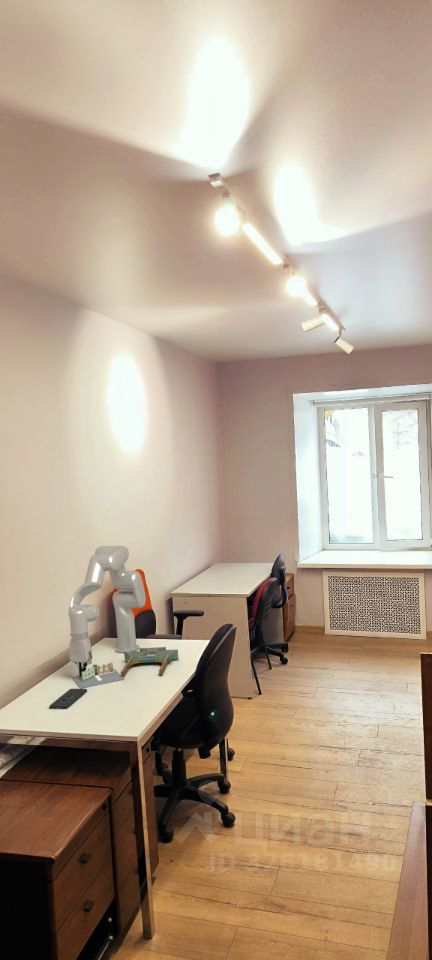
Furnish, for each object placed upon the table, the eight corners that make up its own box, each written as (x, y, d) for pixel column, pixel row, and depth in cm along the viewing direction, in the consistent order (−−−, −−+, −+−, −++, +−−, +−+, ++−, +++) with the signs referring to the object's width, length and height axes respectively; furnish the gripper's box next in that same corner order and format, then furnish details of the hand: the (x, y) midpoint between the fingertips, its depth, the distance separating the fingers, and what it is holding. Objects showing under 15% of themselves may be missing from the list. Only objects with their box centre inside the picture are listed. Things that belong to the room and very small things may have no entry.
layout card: (72, 678, 291) (72, 677, 291) (114, 669, 299) (114, 668, 299) (80, 688, 275) (80, 687, 275) (124, 679, 283) (124, 678, 283)
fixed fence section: (94, 675, 290) (93, 666, 290) (93, 674, 292) (92, 665, 292) (113, 671, 294) (113, 662, 294) (112, 670, 295) (112, 661, 295)
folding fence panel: (93, 675, 290) (92, 666, 290) (94, 675, 290) (94, 667, 290) (82, 680, 284) (81, 672, 284) (83, 680, 283) (83, 672, 283)
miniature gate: (111, 668, 286) (127, 646, 316) (113, 680, 286) (128, 657, 316) (170, 666, 283) (180, 644, 313) (171, 678, 284) (181, 655, 314)
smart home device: (48, 705, 254) (70, 688, 273) (48, 710, 254) (70, 692, 273) (67, 706, 252) (87, 688, 271) (67, 710, 252) (88, 692, 272)
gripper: (61, 637, 287) (64, 677, 288) (87, 639, 280) (90, 680, 281) (72, 633, 294) (75, 671, 294) (97, 635, 287) (101, 674, 287)
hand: (83, 675), depth 287 cm, fingers closed
